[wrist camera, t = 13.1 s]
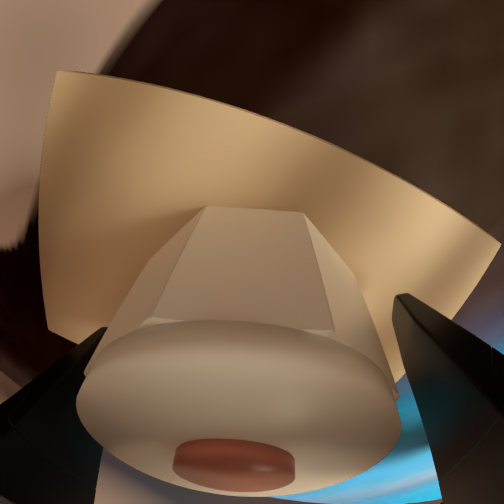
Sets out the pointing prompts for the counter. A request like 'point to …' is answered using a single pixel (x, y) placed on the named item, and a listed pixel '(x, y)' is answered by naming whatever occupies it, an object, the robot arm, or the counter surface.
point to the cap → (243, 362)
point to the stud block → (225, 201)
